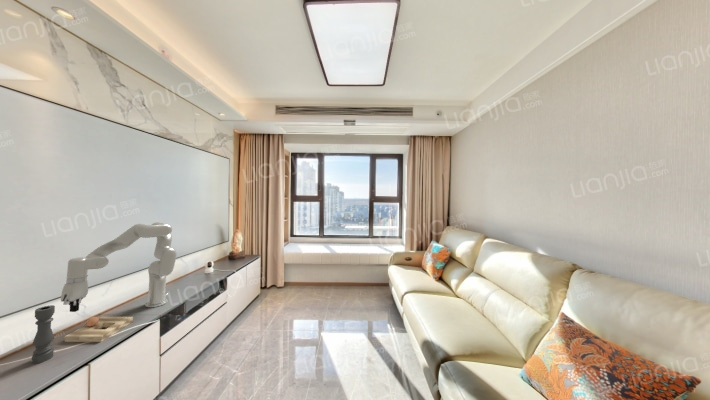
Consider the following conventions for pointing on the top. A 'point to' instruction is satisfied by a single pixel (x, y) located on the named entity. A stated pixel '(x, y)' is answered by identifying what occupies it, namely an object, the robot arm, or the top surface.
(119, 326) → the board
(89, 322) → the ball
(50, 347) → the candle holder
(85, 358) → the top surface
